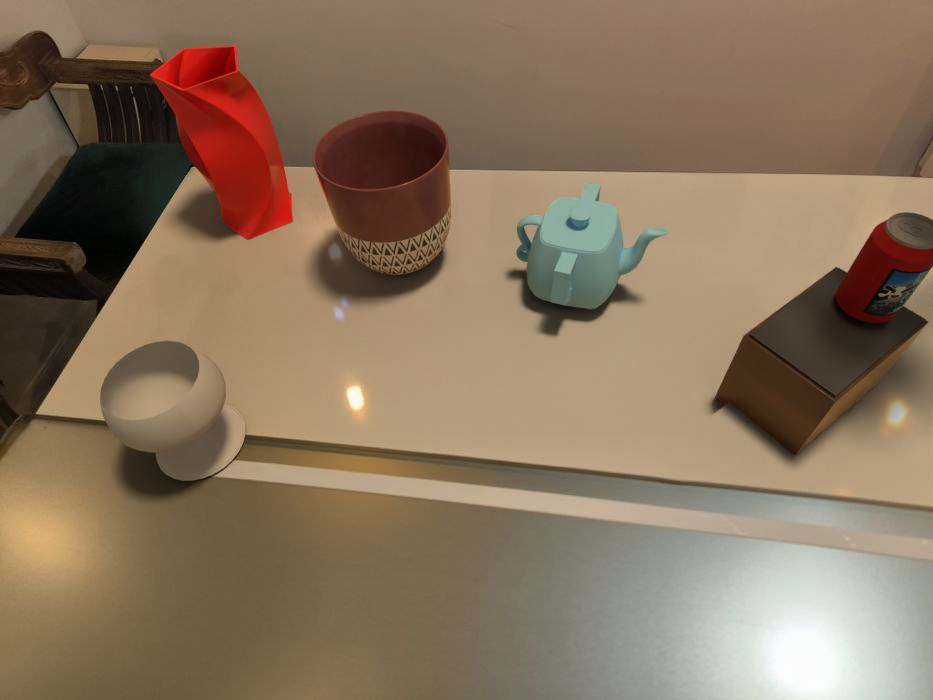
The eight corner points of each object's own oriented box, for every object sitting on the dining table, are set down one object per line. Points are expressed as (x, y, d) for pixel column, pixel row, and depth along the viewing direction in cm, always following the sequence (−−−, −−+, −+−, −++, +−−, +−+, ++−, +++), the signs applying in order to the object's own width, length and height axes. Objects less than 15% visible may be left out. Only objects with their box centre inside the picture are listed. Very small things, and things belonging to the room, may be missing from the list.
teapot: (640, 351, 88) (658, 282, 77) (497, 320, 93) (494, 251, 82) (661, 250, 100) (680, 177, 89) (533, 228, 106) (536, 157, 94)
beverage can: (877, 336, 70) (933, 260, 60) (821, 305, 73) (867, 229, 64) (905, 306, 72) (964, 228, 63) (850, 277, 76) (898, 199, 66)
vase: (310, 195, 116) (262, 47, 94) (279, 245, 107) (218, 96, 85) (239, 187, 119) (176, 42, 97) (203, 236, 110) (125, 90, 88)
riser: (797, 334, 88) (837, 264, 77) (875, 387, 82) (931, 319, 71) (713, 398, 82) (744, 333, 71) (790, 461, 76) (837, 400, 65)
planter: (326, 287, 100) (287, 178, 83) (373, 212, 111) (347, 103, 94) (436, 310, 95) (419, 200, 79) (474, 229, 107) (466, 118, 90)
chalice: (273, 438, 83) (232, 375, 71) (181, 509, 77) (121, 453, 65) (219, 382, 89) (174, 315, 78) (132, 443, 84) (69, 381, 72)
